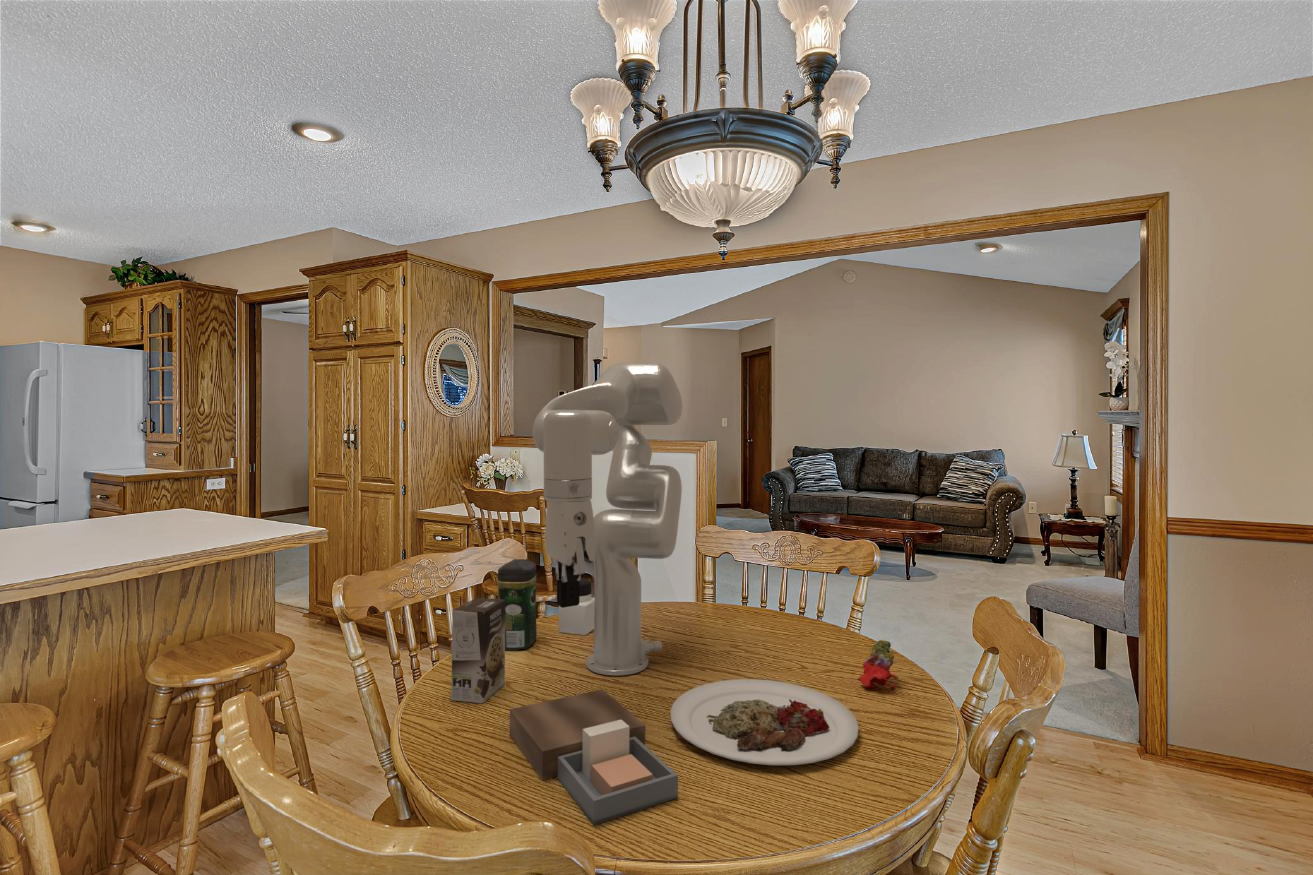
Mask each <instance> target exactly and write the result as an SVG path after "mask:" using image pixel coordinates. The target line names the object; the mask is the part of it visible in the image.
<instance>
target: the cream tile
mask: <svg viewBox="0 0 1313 875" xmlns="http://www.w3.org/2000/svg"><path fill="white" fill-rule="evenodd" d="M626 755H629V726H628V725H627V724H626V723H625V722H624V721H622V720H617V721H613V722H609V723H605V724H601V725H597V726H593V727H589V728H585V729H583V752H582V772H583V773H584V774H585V776H586V777H587V778H588V779H589V780H592V765H594V764H598V763H601V762H605V761H608V760H612V759H615V758H619V757H623V756H626Z"/></svg>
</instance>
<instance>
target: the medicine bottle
mask: <svg viewBox="0 0 1313 875" xmlns="http://www.w3.org/2000/svg"><path fill="white" fill-rule="evenodd" d="M592 631H594V597H592V581H591V580H590V579H588V578H583V577H581V578H580V581H579V605H577V606H570V607H564V608H562V607H560V606H559V605H558V632H559V633H563V634H571V635H579V636H586V635H588V634H589V633H590V632H592Z"/></svg>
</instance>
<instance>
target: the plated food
mask: <svg viewBox="0 0 1313 875" xmlns="http://www.w3.org/2000/svg"><path fill="white" fill-rule="evenodd" d="M669 713H670V714H669V715H670V720H671V724H672V726H673V728H674V729H675V731H676V732H677V733H678V734H679V735H680V736H681V737H682V738H683V739H684V740H686V741H687V742H689V743H691V744H692V745H694V746H695V747H697V748H699V749H701V750H703V751H706V752H708V753H710V754H712V755H716V756H719V757H721V758H726V759H728V760H732V761H737V762H743V763H747V764H754V765H764V766H765V765H766V766H799V765H808V764H814V763H818V762H823V761H825V760H829V759H832V758H835V757H836V756H838V755H842V753H845V752H846V751H847V750H848V749H849V748H851V747H852V746H853V745H854V743H855V742H856V741H857V738H858V736H859V724H858V721H857V718H856V716H854V714H853V713H852V712H851V710H850V709H849V708H848V707H846V706H845V705H844V704H843V703H841V702H840V701H838V700H836V699H835V698H833V697H832V696H829V695H827V694H825V693H823V692H820V691H818V690H816V689H812V688H808V687H806V686H802V685H800V684H794V683H789V682H786V681H785V682H784V681H777V680H772V679H771V680H770V679H756V678H751V679H750V678H748V679H746V678H741V679H740V678H739V679H728V680H727V679H726V680H725V679H724V680H719V681H714V682H709V683H705V684H703V685H699V686H696V687H693V688H690V690H687V691H685V692H684V693H682V694H681V695H680V696H678V697H677V699H675V701H674V702H673V704H672V705H671V709H670V712H669Z"/></svg>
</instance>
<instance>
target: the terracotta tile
mask: <svg viewBox="0 0 1313 875" xmlns="http://www.w3.org/2000/svg"><path fill="white" fill-rule="evenodd" d="M651 780H653V774H652V773H651V772H650V771H649V770H647V769H646V768H645V767H644V766H643V765H642V764H641V763H640V762H639V761H638V760H637V759H636V758H635V757H634V756H633V755H632V754H630V755H626V756H623V757H619V758H615V759H612V760H608V761H605V762H601V763H598V764H594V765H592V785H593V786H594V787H595V788H596V789H597V791H598V792H599V793H600V794H601V795H605V794H608V793H611V792H615V791H618V790H621V789H625V788H628V787H631V786H634V785H638V784H641V783H644V782H647V781H651Z"/></svg>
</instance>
